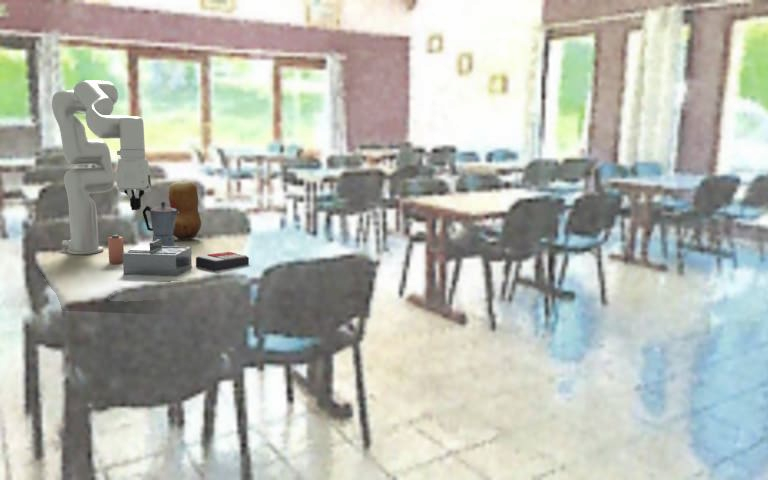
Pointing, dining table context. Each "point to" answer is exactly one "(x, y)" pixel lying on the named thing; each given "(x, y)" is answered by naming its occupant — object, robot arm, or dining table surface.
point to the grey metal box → (158, 261)
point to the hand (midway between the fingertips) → (135, 209)
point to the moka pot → (162, 223)
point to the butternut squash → (185, 209)
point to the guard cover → (149, 246)
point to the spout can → (115, 249)
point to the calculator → (221, 261)
